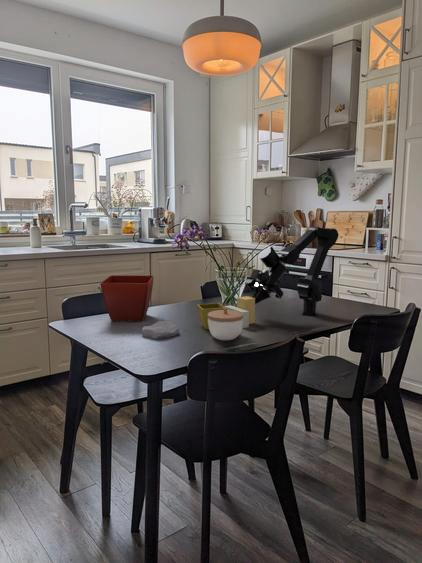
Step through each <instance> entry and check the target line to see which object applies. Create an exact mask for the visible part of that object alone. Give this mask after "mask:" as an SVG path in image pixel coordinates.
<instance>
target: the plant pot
mask: <svg viewBox="0 0 422 563" xmlns="http://www.w3.org/2000/svg"><path fill="white" fill-rule="evenodd" d="M153 285H154V275H134V274H133V275H128V274H127V275H119V274H118V275H109V276H108V277H106V278H104V280H102V281H101V282H100V288H101V289H100V290H101V293H102V297H103V302H104V304H105V307H106V310H107V313H108V316H109V318H110V321H111V322H114V321H130V322H134V323H135V322H137V323H138V322H139V323H140V322H143V321H144V319H145V317H146V315H147V314H148V309H149V306H150V302H151V297H152V292H153Z"/></svg>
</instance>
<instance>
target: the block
mask: <svg viewBox="0 0 422 563" xmlns="http://www.w3.org/2000/svg"><path fill="white" fill-rule="evenodd" d="M252 297H253V296H249V295H247V296H239V297H236V307H237V308H240V309H243V310H246V311H249V325H251V324H255V322H256V320H255V319H256V318H255V317H256V312H255V311H256V304H255V298H252Z"/></svg>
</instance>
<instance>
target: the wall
mask: <svg viewBox="0 0 422 563" xmlns="http://www.w3.org/2000/svg"><path fill="white" fill-rule="evenodd" d="M224 307H225V308H227V310H233V311H238V312H241V313H243V325H242V329H247V328H249V326H250V324H249V311H246V310H243V309H240V308H237V306H234V305H227V306H226V305H225V306H224Z"/></svg>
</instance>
